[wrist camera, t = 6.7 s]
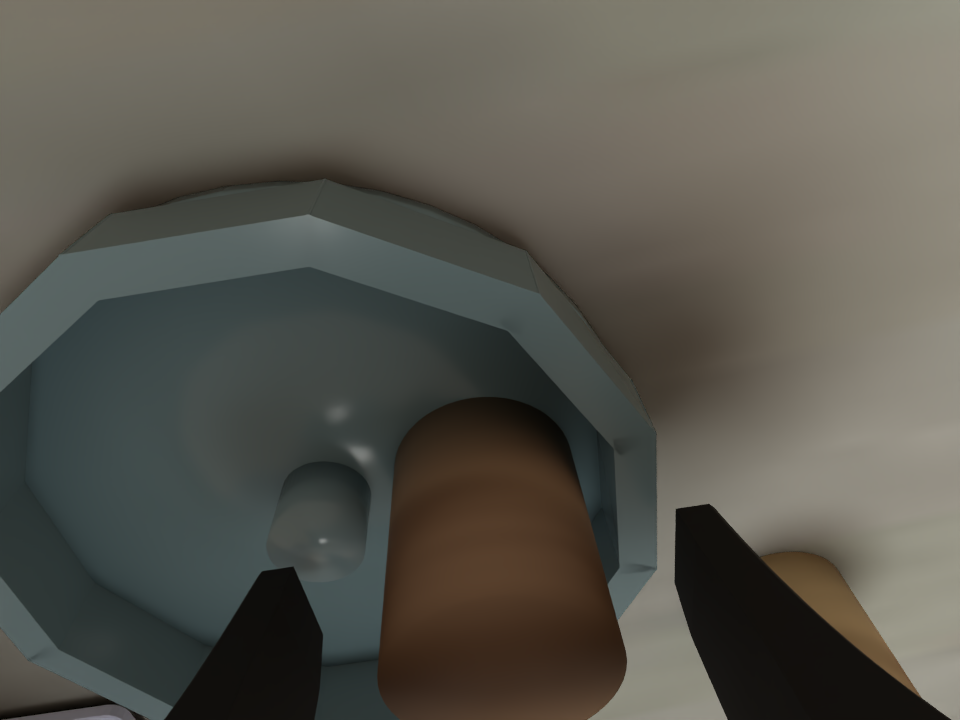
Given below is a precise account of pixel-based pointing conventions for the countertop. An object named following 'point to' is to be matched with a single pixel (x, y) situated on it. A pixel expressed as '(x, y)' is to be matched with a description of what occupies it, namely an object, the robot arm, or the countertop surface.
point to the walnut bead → (494, 574)
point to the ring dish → (271, 423)
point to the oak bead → (835, 605)
